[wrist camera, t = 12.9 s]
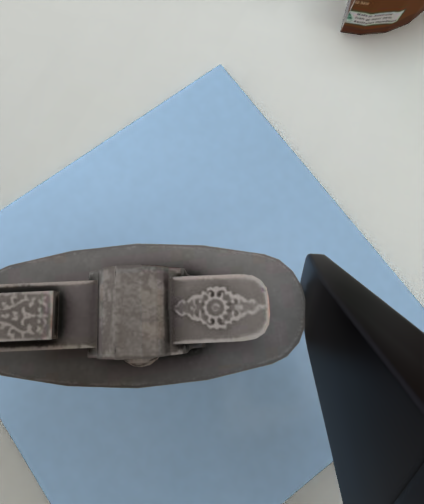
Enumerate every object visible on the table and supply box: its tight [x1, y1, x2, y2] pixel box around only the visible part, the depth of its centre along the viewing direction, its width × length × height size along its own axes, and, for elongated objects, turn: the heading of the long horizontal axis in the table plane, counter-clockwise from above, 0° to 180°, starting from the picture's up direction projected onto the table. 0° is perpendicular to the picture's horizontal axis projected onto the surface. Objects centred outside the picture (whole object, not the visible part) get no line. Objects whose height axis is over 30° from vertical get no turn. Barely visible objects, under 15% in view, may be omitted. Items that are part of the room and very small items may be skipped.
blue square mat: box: [0, 64, 424, 504], centre depth 18 cm, size 20×20×1 cm
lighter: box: [0, 243, 305, 388], centre depth 11 cm, size 8×3×10 cm, turn 92°
